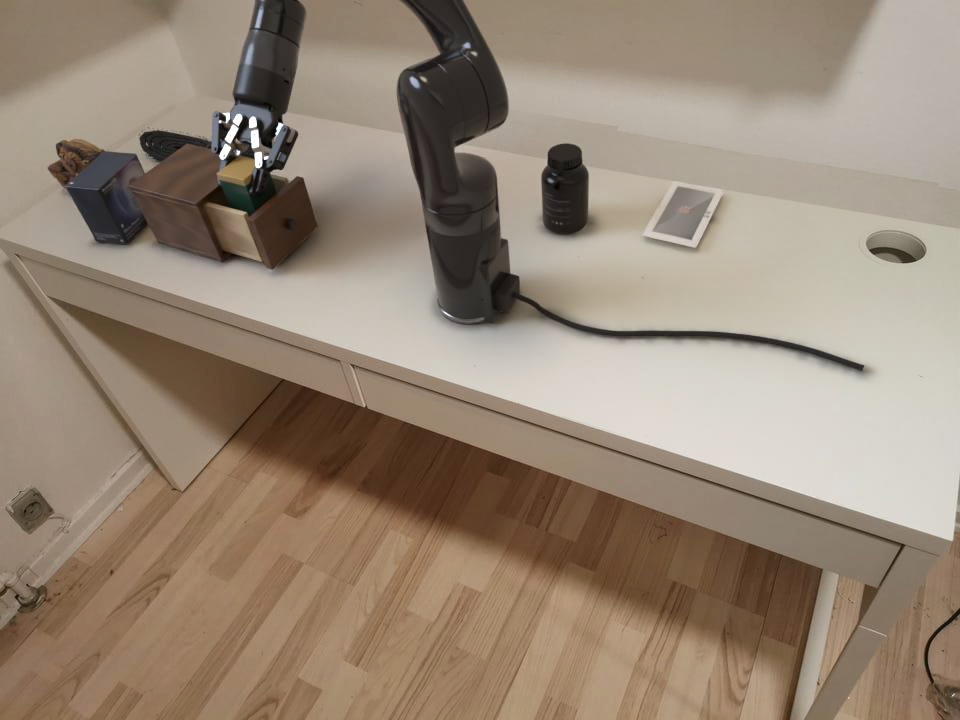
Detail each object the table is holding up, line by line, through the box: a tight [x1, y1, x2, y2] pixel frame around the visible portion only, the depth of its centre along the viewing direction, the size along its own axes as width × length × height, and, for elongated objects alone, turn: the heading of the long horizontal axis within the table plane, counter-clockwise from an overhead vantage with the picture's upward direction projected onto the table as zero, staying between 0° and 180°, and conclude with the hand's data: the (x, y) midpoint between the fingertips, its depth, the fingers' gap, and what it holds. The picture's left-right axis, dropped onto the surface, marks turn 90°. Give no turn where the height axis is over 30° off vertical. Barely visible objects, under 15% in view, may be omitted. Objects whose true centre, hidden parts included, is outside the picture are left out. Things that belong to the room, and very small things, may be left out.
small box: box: [64, 150, 148, 245], centre depth 112 cm, size 11×6×10 cm, turn 166°
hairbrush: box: [138, 127, 255, 162], centre depth 129 cm, size 8×4×25 cm
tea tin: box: [217, 156, 277, 217], centre depth 101 cm, size 5×5×7 cm
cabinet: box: [128, 144, 253, 263], centre depth 109 cm, size 14×13×11 cm
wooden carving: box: [47, 138, 105, 189], centre depth 119 cm, size 16×5×10 cm, turn 70°
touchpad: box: [641, 180, 725, 249], centre depth 103 cm, size 8×15×2 cm, turn 152°
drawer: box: [202, 173, 319, 271], centre depth 105 cm, size 14×11×9 cm
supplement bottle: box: [540, 142, 590, 236], centre depth 102 cm, size 7×7×12 cm
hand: (239, 191), depth 100 cm, fingers closed on tea tin, 5 cm apart
